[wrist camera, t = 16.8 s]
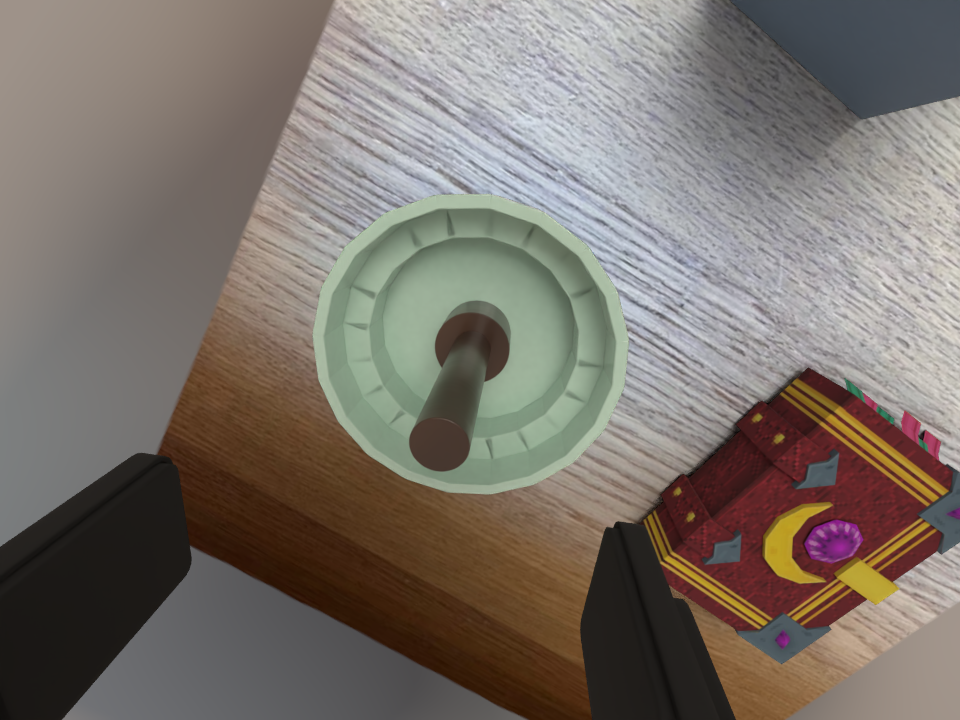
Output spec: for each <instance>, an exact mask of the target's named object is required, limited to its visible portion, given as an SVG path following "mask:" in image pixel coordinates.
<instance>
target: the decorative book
mask: <svg viewBox="0 0 960 720" xmlns="http://www.w3.org/2000/svg"><path fill="white" fill-rule="evenodd" d="M844 379H845V382H846V385H847V390H846V389H844V388H843V387H841V386H839V385H837V384H836V383H834V382H832V381H831V380H829V379H827V378H826V377H824V376H822V375H820V374H819V373H817V372H815V371H814V370H812V369H810V368H807V369H806V370H805V371H804V372H803V373H802V374H801V375H800V376H799V377H798V378H796V379H795V380H794V381H793V382H792V383H791V384H790V385H789V386H788V387H787V388H786V389H785V390H784V391H782V392H781V393H780V394H779V395H778V396H777V397H776V398H775V399H774V400H773V401H772V402H771V403H770V404H768V405H767V404H766V403H765V402H763V401H761V402H760V403H758V404H757V405H756V406H755V407H754V408H753V409H752V410H751V411H750V412H749V413H748V414H747V415H746V416H745V417H744V418H742V419H741V420H740V421H739V422H738V423H737V424H736V425H737V426H738V427H739V428H740V429H741V430H740V431H739V432H738V433H737V434H736V435H735V436H734V437H733V438H732V439H731V440H730V441H729V442H727V443H726V444H725V445H724V446H723V447H722V448H721V449H720V450H719V451H718V452H717V453H716V454H715V455H713V456H712V457H711V458H710V459H709V460H708V461H707V462H706V463H705V464H704V465H703V466H702V467H701V468H699V469H698V470H697V471H696V472H695V473H694V474H693V475H692V476H691V477H690V478H688V477H687V476H685V475H684V474H683V475H682V476H681V477H679V478H678V479H677V480H676V481H675V482H674V483H673V484H672V485H671V486H670V487H669V488H668V489H667V490H666V491H665V492H663V493H662V494H661V496H662V498H663V500H664V502H663V503H662V504H661V505H660V506H658V507H657V508H656V509H655V510H654V511H653V512H652V513H651V514H650V515H649V516H648V517H647V518H646V519H644V520H643V521H642V522H641V523H640V525H644V526H645V527H646V528H647V530H648V533H649V535H650V538H651V541H652V543H653V546H654V548H655V551H656V554H657V556H658V559H659V562H660V564H661V567H662V569H663V572H664V575H665V577H666V580H667V583H668V585H670V586H671V587H673V588H674V589H676V590H677V591H679V592H680V593H682V594H683V595H685V596H686V597H688V598H689V599H691V600H692V601H694V602H695V603H697V604H698V605H700V606H701V607H703V608H704V609H706V610H707V611H709V612H710V613H712V614H713V615H715V616H716V617H718V618H719V619H721V620H722V621H724V622H726V623H727V624H729V625H730V626H732V627H733V628H734V629H735V630H736V632H737V634H738V635H739V636H741V637H742V638H743V639H745V640H746V641H748V642H749V643H751V644H752V645H754V646H755V647H757V648H758V649H760V650H761V651H763V652H764V653H766V654H767V655H769V656H770V657H772V658H773V659H775V660H776V661H778V662H779V663H781V664H783V663H784V662H786V661H787V660H789V659H790V658H792V657H793V656H794V655H796V654H797V653H799V652H800V651H802V650H803V649H804V648H806V647H807V646H809V645H810V644H812V643H813V642H814V641H816V640H817V639H819V638H820V637H822V636H823V635H824V634H826V633H827V632H829V631H830V630H832V629H831V628H830V627H829V625H830V624H832V623H833V622H835V621H836V620H838V619H839V618H841V617H842V616H844V615H845V614H846V613H848V612H849V611H851V610H852V609H854V608H855V607H857V606H858V605H860V604H861V603H863V602H864V601H865V600H867V599H868V600H869V601H871V602H872V603H874V604H875V605H876V604H878V603H879V602H881V601H882V600H884V599H885V598H887V597H888V596H890V595H891V594H893V593H894V592H896V591H897V590H899V588H898V587H897V586H896V585H895V584H894V583H893V581H895V580H896V579H897V578H899V577H900V576H902V575H903V574H905V573H906V572H908V571H909V570H911V569H912V568H913V567H915V566H916V565H918V564H919V563H921V562H922V561H924V560H925V559H927V558H928V557H929V556H931V555H932V554H934V553H935V552H939V553H940V554H943V553H944V552H946V551H947V550H949V549H950V548H952V547H953V546H955V545H956V544H958V543H959V542H960V472H958V471H957V470H955V469H954V468H952V467H951V466H949V465H948V464H947V465H944V464H942V463H941V462H940V461H939V456H938V453H939V449H940V444H941V442H940V441H939V440H938V439H937V438H935V437H934V436H933V435H932V434H930V433H929V432H928V431H927V430H926V431H925V435H924V439H923V441H922V440H921V439H920V438H918V433H919V429H920V426H921V423H920V422H919V421H918V420H916V419H915V418H914V417H913V416H911V415H910V414H909V413H907V412H906V411H904V414H903V418H902V421H901V424H902V431H900V430H899V429H898V428H897V427H895V426H894V425H893V422H894V418H892V417H891V416H890V415H889V414H887V413H886V412H885V411H884V410H882V409H881V408H880V407H878V405H877V404H876V403H875V402H874V401H873V400H871V399H870V398H869V397H868V396H867V395H865V394H864V393H863V392H862V391H861V390H859V389H858V388H857V387H856V386H854V385H853V384H852V383H851V382H849V381H848V380H847V379H846V378H844Z"/></svg>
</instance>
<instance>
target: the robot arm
mask: <svg viewBox="0 0 960 720" xmlns="http://www.w3.org/2000/svg"><path fill="white" fill-rule="evenodd" d="M190 565H191V551H190V544H189V538H188V531H187V525H186V518H185V512H184V505H183V498H182V492H181V485H180V479H179V472H178V468H177V467H176V465H173V463H172V460H171V459H170V458H169V457H166V456H160V455H153V454H146V453H137V454H135V455H133V456H131V457H130V458H128V459H127V460H126V461H124V462H123V463H121V464H120V465H118V466H117V467H115V468H114V469H113V470H111V471H110V472H108V473H107V474H105V475H104V476H102V477H101V478H99V479H98V480H97V481H95V482H94V483H92V484H91V485H89V486H88V487H86V488H85V489H83V490H82V491H81V492H79V493H78V494H76V495H75V496H73V497H72V498H70V499H69V500H67V501H66V502H65V503H63V504H62V505H60V506H59V507H57V508H56V509H54V510H53V511H51V512H50V513H49V514H47V515H46V516H44V517H43V518H41V519H40V520H38V521H37V522H36V523H34V524H33V525H31V526H30V527H28V528H27V529H25V530H24V531H22V532H21V533H20V534H18V535H17V536H15V537H14V538H12V539H11V540H9V541H8V542H6V543H5V544H3V545H2V546H1V547H0V720H62V719H63V718H64V717H65V715H66V714H67V713H68V712H69V711H70V710H71V708H72V707H73V706H74V705H75V704H76V703H77V702H78V700H79V699H80V698H81V697H82V696H83V695H84V693H85V692H86V691H87V690H88V689H89V688H90V687H91V685H92V684H93V683H94V682H95V681H96V680H97V678H98V677H99V676H100V675H101V674H102V673H103V671H104V670H105V669H106V668H107V667H108V666H109V664H110V663H111V662H112V661H113V660H114V659H115V657H116V656H117V655H118V654H119V653H120V652H121V651H122V649H123V648H124V647H125V646H126V645H127V644H128V642H129V641H130V640H131V639H132V638H133V637H134V635H135V634H136V633H137V632H138V631H139V630H140V629H141V627H142V626H143V625H144V624H145V623H146V621H147V620H148V619H149V618H150V617H151V616H152V615H153V613H154V612H155V611H156V610H157V609H158V608H159V606H160V605H161V604H162V603H163V602H164V601H165V600H166V598H167V597H168V596H169V595H170V594H171V592H172V591H173V590H174V589H175V588H176V587H177V585H178V584H179V583H180V582H181V581H182V580H183V578H184V577H185V576H186V575H187V573H188V571H189V569H190ZM580 633H581V643H582V650H583V657H584V664H585V671H586V678H587V685H588V692H589V700H590V707H591V714H592V720H736V719H735V716H734V714H733V711H732V709H731V707H730V704H729V702H728V699H727V697H726V694H725V692H724V690H723V687H722V685H721V682H720V680H719V677H718V675H717V673H716V670H715V668H714V665H713V663H712V660H711V658H710V656H709V653H708V651H707V648H706V646H705V643H704V641H703V639H702V636H701V634H700V631H699V629H698V627H697V624H696V622H695V619H694V617H693V614H692V612H691V610H690V608H689V606H688V604H687V603H686V602H685V601H684V600H683V599H678V598H673V596H672V593H671V590H670V588H669V585H668V583H667V580H666V577H665V575H664V572H663V569H662V567H661V564H660V562H659V559H658V556H657V554H656V551H655V548H654V546H653V543H652V541H651V538H650V535H649V533H648V530H647V528H646V527H645V526H644V525H640V524H633V523H626V522H619V521H618V522H616V523H615V525H614V527H613V528H610V527H606V529H605V531H604V535H603V538H602V542H601V546H600V550H599V554H598V557H597V561H596V565H595V569H594V572H593V576H592V580H591V584H590V587H589V591H588V595H587V599H586V603H585V606H584V610H583V614H582V618H581V627H580Z"/></svg>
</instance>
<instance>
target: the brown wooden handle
mask: <svg viewBox="0 0 960 720" xmlns="http://www.w3.org/2000/svg"><path fill="white" fill-rule="evenodd" d="M510 341H511V329H510V324H509V322H508V319H507V318H506V316H505V315H504V313H503V312H502V311H501V310H500V309H499V308H498V307H496V306H494V305H493V304H491V303H488V302H485V301H478V300H475V301H468V302H465V303H462V304H460V305H459V306H457V307H456V308H455V309H453V310H452V311H451V313H450V314H449V315H448V317H447V319H446V320H445V322H444V323H443V325H442V326H441V328H440V330H439V331H438V334H437V336H436V340H435V354H436V357H437V360H438V362H439V364H440V366H441V367H442V369H441V371H440V373H439V375H438V377H437V379H436V381H435V383H434V385H433V388H432V390H431V392H430V394H429V396H428V398H427V400H426V402H425V404H424V406H423V408H422V410H421V413H420V415H419V417H418V419H417V421H416V423H415V425H414V427H413V429H412V431H411V434H410V437H409V447H410V451H411V453H412V455H413V457H414V458H415V459H416V461H417V462H418V463H419V464H421V465H422V466H424V467H425V468H427V469H430V470H433V471H439V472H445V471H450V470H453V469H456V468H457V467H459V466H460V465H462V464H463V463H464V462H465V460H466V459H467V457H468V455H469V451H470V447H471V442H472V437H473V432H474V428H475V423H476V418H477V414H478V409H479V404H480V399H481V395H482V390H483V385H484V382H486V381H489V380H491V379H493V378H494V377H496V376H497V375H498V374H499V373H500V372H501V371H502V370H503V368H504V367H505V365H506V363H507V361H508V358H509V352H510Z"/></svg>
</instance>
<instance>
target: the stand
mask: <svg viewBox="0 0 960 720" xmlns="http://www.w3.org/2000/svg"><path fill="white" fill-rule="evenodd" d="M730 1H731V2H732V3H733V4H734V5H736V6H737V7H738V8H739V9H740V10H741V11H742V12H743V13H744V14H746V15H747V16H748V17H749V18H750V19H751V20H752V21H753V22H754V23H755V24H757V25H758V26H759V27H760V28H761V29H762V30H763V31H764V32H765V33H766V34H768V35H769V36H770V37H771V38H772V39H773V40H774V41H775V42H776V43H777V44H779V45H780V46H781V47H782V48H783V49H784V50H785V51H786V52H787V53H789V54H790V55H791V56H792V57H793V58H794V59H795V60H796V61H797V62H798V63H800V64H801V65H802V66H803V67H804V68H805V69H806V70H807V71H808V72H809V73H811V74H812V75H813V76H814V77H815V78H816V79H817V80H818V81H819V82H821V83H822V84H823V85H824V86H825V87H826V88H827V89H828V90H829V91H830V92H832V93H833V94H834V95H835V96H836V97H837V98H838V99H839V100H840V101H841V102H843V103H844V104H845V105H846V106H847V107H848V108H849V109H850V110H851V111H853V112H854V113H855V114H856V115H857V116H858V117H859V118H860V119H866V118H870V117H874V116H878V115H882V114H887V113H891V112H895V111H899V110H904V109H908V108H912V107H916V106H920V105H925V104H929V103H933V102H937V101H942V100H946V99H950V98H954V97H958V96H960V0H730Z"/></svg>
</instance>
